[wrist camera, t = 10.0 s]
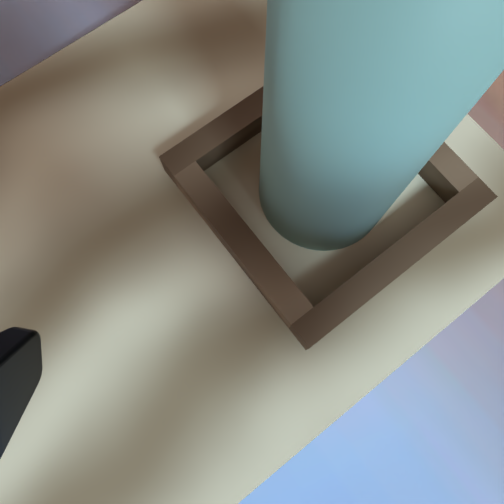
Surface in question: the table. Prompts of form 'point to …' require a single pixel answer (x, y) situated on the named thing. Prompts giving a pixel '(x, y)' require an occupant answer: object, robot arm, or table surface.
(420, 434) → the table surface
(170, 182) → the base board
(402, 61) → the post
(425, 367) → the table surface
